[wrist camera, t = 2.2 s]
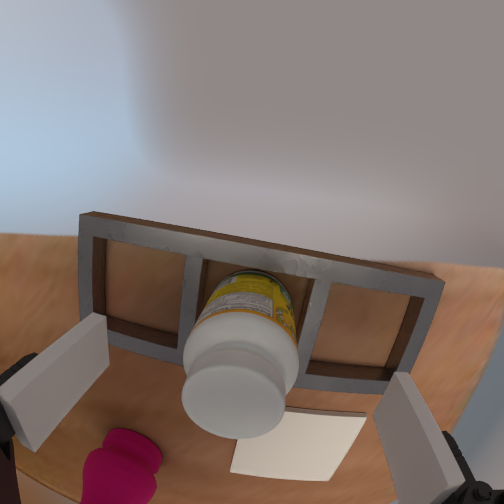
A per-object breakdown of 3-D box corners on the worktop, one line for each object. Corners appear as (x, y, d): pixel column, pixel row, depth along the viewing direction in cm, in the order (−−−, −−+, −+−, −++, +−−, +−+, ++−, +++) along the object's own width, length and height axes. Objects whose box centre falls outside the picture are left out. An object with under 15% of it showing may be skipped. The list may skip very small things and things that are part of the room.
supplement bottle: (213, 263, 19) (160, 335, 10) (298, 273, 19) (318, 357, 9) (209, 337, 20) (167, 436, 11) (286, 347, 20) (289, 454, 11)
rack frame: (93, 324, 21) (81, 334, 19) (94, 211, 19) (79, 214, 17) (392, 381, 20) (399, 394, 18) (433, 274, 18) (445, 282, 16)
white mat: (230, 467, 24) (229, 471, 23) (246, 400, 21) (245, 405, 21) (327, 476, 23) (328, 480, 23) (365, 412, 21) (367, 417, 20)
